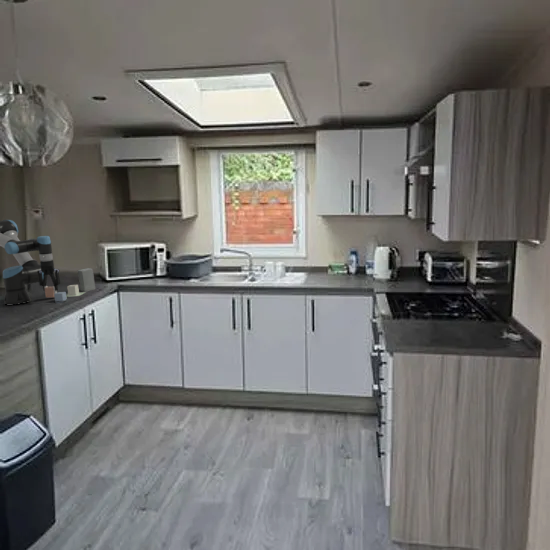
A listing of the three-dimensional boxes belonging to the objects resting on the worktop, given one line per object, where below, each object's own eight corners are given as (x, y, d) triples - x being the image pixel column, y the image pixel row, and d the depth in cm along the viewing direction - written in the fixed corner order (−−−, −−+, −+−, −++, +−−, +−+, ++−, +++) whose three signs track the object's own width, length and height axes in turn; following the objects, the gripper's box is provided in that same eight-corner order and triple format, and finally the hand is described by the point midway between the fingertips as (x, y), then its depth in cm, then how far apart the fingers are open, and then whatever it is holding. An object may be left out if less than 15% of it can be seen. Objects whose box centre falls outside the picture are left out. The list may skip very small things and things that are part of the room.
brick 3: (68, 295, 318) (67, 286, 317) (71, 293, 323) (70, 285, 322) (75, 295, 318) (74, 286, 317) (79, 293, 323) (77, 284, 322)
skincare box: (91, 290, 339) (88, 267, 336) (96, 290, 334) (93, 268, 332) (79, 292, 333) (76, 269, 330) (85, 293, 328) (81, 270, 325)
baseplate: (61, 298, 315) (60, 297, 315) (69, 294, 327) (69, 293, 327) (79, 297, 315) (78, 295, 314) (86, 293, 327) (86, 292, 326)
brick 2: (55, 303, 303) (54, 293, 302) (59, 301, 308) (58, 292, 307) (63, 302, 303) (62, 293, 302) (67, 301, 308) (65, 291, 307)
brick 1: (45, 297, 310) (44, 288, 309) (49, 295, 315) (48, 286, 314) (53, 297, 310) (52, 288, 309) (57, 295, 315) (56, 286, 314)
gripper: (29, 261, 305) (34, 297, 309) (57, 260, 304) (62, 296, 308) (35, 259, 312) (40, 295, 316) (63, 258, 311) (67, 294, 316)
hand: (51, 295), depth 312 cm, fingers closed on brick 1, 5 cm apart
